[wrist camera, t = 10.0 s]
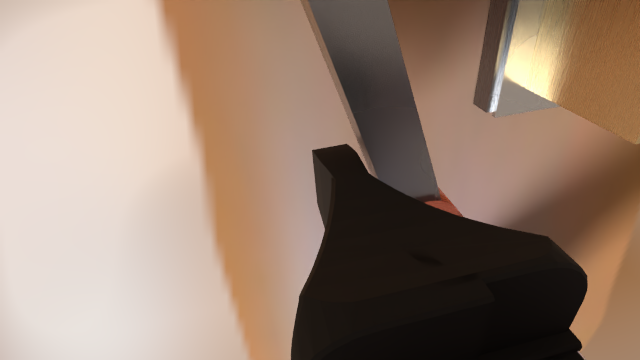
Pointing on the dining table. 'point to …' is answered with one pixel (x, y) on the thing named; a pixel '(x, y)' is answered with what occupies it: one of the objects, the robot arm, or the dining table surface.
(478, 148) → the dining table surface
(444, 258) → the robot arm
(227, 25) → the dining table surface
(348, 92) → the lever
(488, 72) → the press
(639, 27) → the housing
